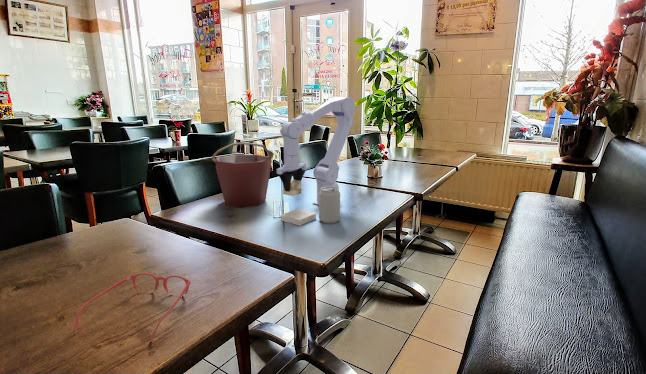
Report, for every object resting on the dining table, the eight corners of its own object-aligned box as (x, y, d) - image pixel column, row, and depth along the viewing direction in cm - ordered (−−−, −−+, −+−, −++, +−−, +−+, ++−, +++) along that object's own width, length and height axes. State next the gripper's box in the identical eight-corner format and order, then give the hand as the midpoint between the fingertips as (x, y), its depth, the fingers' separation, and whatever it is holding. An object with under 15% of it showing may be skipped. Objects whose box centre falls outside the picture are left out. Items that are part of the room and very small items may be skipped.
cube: (291, 191, 138) (291, 179, 137) (301, 193, 135) (301, 180, 134) (283, 193, 134) (282, 181, 133) (292, 196, 131) (292, 183, 130)
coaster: (297, 213, 131) (297, 208, 131) (315, 218, 126) (315, 213, 126) (280, 220, 124) (280, 214, 124) (299, 225, 119) (299, 220, 119)
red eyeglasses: (200, 297, 76) (198, 276, 75) (155, 346, 61) (152, 322, 60) (129, 290, 79) (126, 270, 78) (69, 336, 64) (64, 312, 63)
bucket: (277, 195, 157) (275, 139, 151) (271, 210, 136) (269, 146, 130) (222, 195, 156) (218, 139, 150) (208, 210, 135) (203, 146, 129)
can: (338, 225, 120) (338, 191, 117) (316, 223, 121) (316, 190, 118) (341, 218, 127) (341, 186, 124) (321, 216, 128) (321, 185, 125)
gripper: (296, 151, 139) (296, 184, 142) (270, 155, 127) (271, 191, 131) (309, 153, 134) (310, 186, 138) (284, 157, 123) (285, 194, 127)
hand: (292, 189), depth 134 cm, fingers closed on cube, 5 cm apart
